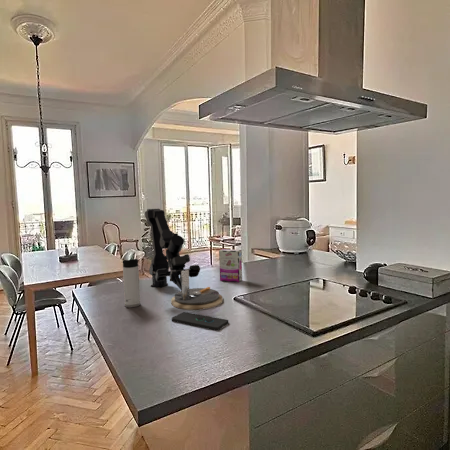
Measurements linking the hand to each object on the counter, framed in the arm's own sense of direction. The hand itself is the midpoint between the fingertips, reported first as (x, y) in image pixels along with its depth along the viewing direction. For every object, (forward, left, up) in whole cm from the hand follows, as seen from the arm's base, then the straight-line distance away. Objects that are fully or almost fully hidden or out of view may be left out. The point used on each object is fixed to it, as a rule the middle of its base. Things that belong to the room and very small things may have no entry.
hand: (182, 290), depth 145 cm
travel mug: (-20, -8, -7) cm, 22 cm away
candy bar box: (+2, +44, -7) cm, 44 cm away
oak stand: (+3, +6, -6) cm, 9 cm away
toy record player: (+3, +7, -5) cm, 9 cm away
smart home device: (+16, -14, -7) cm, 23 cm away
